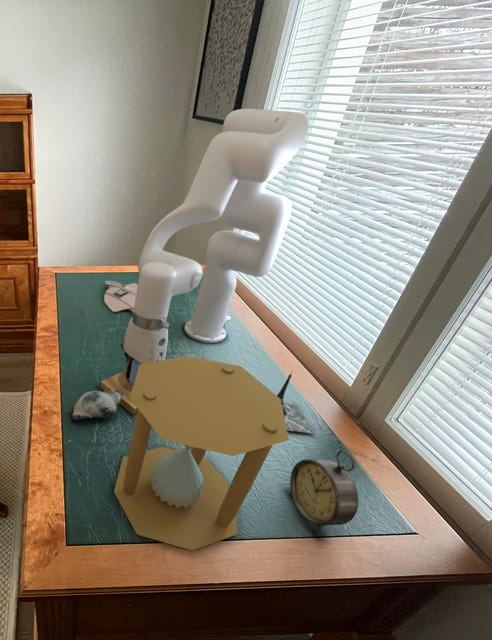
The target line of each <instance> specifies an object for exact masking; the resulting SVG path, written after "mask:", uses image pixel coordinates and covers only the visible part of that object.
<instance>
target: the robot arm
mask: <svg viewBox="0 0 492 640" xmlns="http://www.w3.org/2000/svg"><path fill="white" fill-rule="evenodd" d="M308 132H309V120H308V118H307V116H306V115H305V114H303V113H301V112H297V111H286V110H272V109H260V108H240V109H235V110H232V111H230V112H229V113H228V114H227V115H226V117H225V119H224V121H223V125H222V132H220V133H218V134H216V135H215V136H214V137H213V138H212V140H211V141H210V143H209V144H208V147H207V148H206V151H205V154H204V156H203V158H202V161H201V162H200V165H199V167H198V170H197V172H196V174H195V177H194V179H193V180H192V181H193V182H192V183H191V186H190V188H189V191H188V193H187V195H186V197H185V200H184V201H183V203H182V204H181V205H180V206H178V207H177V208H175V209H173V210H172V211H171V212H169V213H168V214H167V215H165V216H164V217H163V218H162V219H161V220H160V221H159V222H158V223H157V224H156V225H155V226H154V227H153V228H152V230H151V232H150V234H149V236H148V238H147V240H146V243H145V244H144V247H143V249H142V252H141V254H140V258H139V260H138V265H137V270H138V274H139V275H138V281H137V285H138V287H137V293H136V299H135V305H134V312H132V317H131V318H130V320H129V322H128V324H127V328H126V331H125V335H124V340H123V342H122V343H120V348H121V350H122V352H123V355H124V357H125V363H126V365H127V366H126V369H127V372H126V377H127V378H130V372H131V366H132V361H133V359H135V360H137V361H138V362H140V363H141V364H146V363H151V362H157V361H162V360H166V356H167V352H168V351H167V350H168V344H169V329H168V328H169V327H170V323H168V321H167V320H168V314H169V309H170V306H171V302H172V298H173V297H174V296H179V295H185V294H187V293H189V292H192V291H193V290H194V289H196V288H197V287H198V286H199V285H200V286H199V289H198V294H197V297H196V302H195V306H194V309H193V314H192V317H191V320H189V321H187V322H186V323H185V325H184V328H183V329H184V332H185V333H186V335H187V336H188V337H189V338H192V339H193V340H196V341H199V342H203V343H206V344H207V343H208V344H215V343H220V342H222V341H224V340H225V339H226V337H227V331H226V329H225V328H224V325H225V324H226V323H228V322H230V321H231V318H232V317H231V316H230V315H228V314H229V310H230V306H231V304H232V300H233V297H234V295H235V292H236V289H237V283H238V281H237V275H236V272H238V273H241V274H244V275H248V276H251V277H255V278H260V277H264V276H265V275H267V274H268V273H269V272H270V270H271V269H272V267H273V266H274V263H275V260H276V257H277V255H278V251H279V249H280V246H281V244H282V241H283V238H284V235H285V232H286V229H287V227H288V223H289V221H290V217H291V213H292V202H291V201H290V199H289V198H288V197H286V196H284V195H281V194H276V193H272V192H271V193H270V192H267V191H266V185H267V182H268V181H270V180H272V179H273V178H274V177H275V176H276V175H277V174H278V173H279V172H280V171H281V169H283V168H284V167H285V166H286V165H287V163H289V162H290V161H291V160H292V159H293V158H294V156H296V154H298V152H299V151H300V150H301V148H302V146H303V145H304V143H305V140H306V138H307V135H308ZM220 218H221V222H222V223H223V224H224V225H225V226H227V227H230V228H234V229H237V230H239V231H240V230H241V231H244V232H249V233H253V234H257V235H258V237H257V236H253V235H250V234H246V233H242V232H237V231H235V230H234V231H233V230H226V229H224V230H219V231H216V232H215V233H213V235H211V237H210V238H209V240H208V242H207V244H206V245H207V246H206V253H205V264H204V271H203V268H202V265H201V264H200V263H199V262H198V261H196V260H194V259H191V258H190V257H189V258H188V257H185V256H183V255H179V254H176V253H173V252H170V251H167V250H164V248H165V246H166V244H167V242H168V241H169V240H170V238H172V236H173V235H174V234H175V233H177V232H178V231H180V230H182V229H185V228H187V227H190V226H191V227H192V226H194V225H198V224H203V223H209V222H213V221H217V220H219V219H220Z"/></svg>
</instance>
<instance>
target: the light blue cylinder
mask: <svg viewBox="0 0 492 640" xmlns="http://www.w3.org/2000/svg"><path fill="white" fill-rule="evenodd" d="M139 365H141V363H140V362H138V361H137V360H135V359H133V361H132V366H131V372H130V378H129V381H128V383H129V384H130V385H131V386H134V382H135V379H136V375H137V372H138V368H139Z"/></svg>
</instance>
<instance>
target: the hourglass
mask: <svg viewBox="0 0 492 640" xmlns="http://www.w3.org/2000/svg"><path fill="white" fill-rule="evenodd" d="M130 398H131V399H132V401H133V402H134V403H135V405H136V406H137V407H138V413H136V418H135V422H134V427H133V432H132V436H131V440H130V445H129V450H128V455H126V456H123V457H122V460H121V462H120V463H121V464H120V466H119V467H120V468H119V470H118V475H117V479H116V483H115V486H114V491H113V493H114V495H115V496H116V498H117V500H118V502H119V505H120V507H122V510H123V511H124V514H125V515H126V518H127V519H128V521H129V523H130V524H131V526H132V528H133V530H134V532H135V533H136V535H138V536H141V537H145V538H148V539H151V540H154V541H158V542H161V543H165V544H169V545H172V546H176V547H179V548H182V549H186V550H189V551H194V550H197V549H200V548H203V547H205V546H208V545H212V544H214V543H217V542H220V541H223V540H225V539H228V538H231V537H234V536H236V535H238V517H237V514H238V512H239V511H240V508H241V507H242V505H243V504H244V501H245V499H246V498H247V496H248V494H249V493H250V490H251V488H252V487H253V485H254V483H255V481H256V479H257V477H258V475H259V473H260V472H261V469H262V467H263V466H264V463H265V461H266V460H267V457H268V455H269V453H270V451H271V449H272V447H273V446H275V445H277V444H281V443H285V442H287V441H289V440H290V439H289V434H288V431H287V428H286V423H285V418H284V413H283V408H282V403H281V399H280V398H279V397H277V394H276V393H274V391H272V390H270V389H269V388H268V387H267V386H266V385H264V384H263V383H262V382H261V381H260V380H258V379H257V378H255V376H254V375H252V374H251V373H250V372H249V371H247V370H246V369H245V368H244V367H243V366H241V365H237V364H233V363H232V364H231V363H226V362H221V361H217V360H210V359H205V358H201V357H200V358H198V357H194V356H190V355H189V356H188V355H183V356H178V357H173V358H167V359H165V360H162V361H157V362H151V363H146V364H141V365H139V368H138V372H137V375H136V379H135V382H134V386H133V389H132V393H131V396H130ZM152 429H153V430H154V431H155V433H156V435H157V436H158V437H159V438H160V440H163V441H167V442H171V443H175V444H180V445H183V446H184V448H183V449H180V450H177V449H173V448H169V447H166V446H159V447H155V448H152V449H148V444H149V440H150V436H151V432H152ZM147 449H148V450H147ZM207 451H209V452H214V453H218V454H222V455H226V456H231V457H235V456H239V455H242V454H244V456H243V458H242V460H241V462H240V464H239V466H238V468H237V470H236V472H235V474H234V476H233V478H232V480H231V482H230V484H229V482H228V481H227V480H226V479H225V477H224V476H223V475H222V474H221V473H220V471H219V470H218V469H217V468H216V467H215V466H214V464H213V463H212V462H211V461H210V460H209V458H208V457H206V456H205V455H206V452H207Z"/></svg>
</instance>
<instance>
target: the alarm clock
mask: <svg viewBox="0 0 492 640" xmlns="http://www.w3.org/2000/svg"><path fill="white" fill-rule="evenodd" d="M341 453H345V454H346V455H347V456H348V457H349V459H350V461H351V467H350V468H349V469H346V468H345V465H344V464H343V463H341V462H340V460H339V456H340V454H341ZM354 468H355V460H354V458H353V455H351V453H350V452H348V451H347V450H345V449H342V450H339V451H337V452H336V461H333V460H331V459H326V458H314V459H313V458H312V459H311V458H310V459H309V458H305V459H301V460H300V461H298V462H297V463H296V464H295V465H294V466H293V468H292V470H291V473H290V479H289V484H290V485H289V486H290V490H289V494H291V497H292V500H293V503H294V504H295V507H296V508H297V510H298V511H299V513H300V514H301V515H302V516H303V517H304V518H305V519H306V520H307V521H308V522H309V523H311V524H313V525H314V526H315V525H316V530H317V532H316V535H317V536H318V537H320V536H322V528H323V527H324V526H342V525H346V524H348V523H349V522H351V521H352V520H353V519H354V518H355V517H356V515H357V512H358V510H359V509H358V508H359V493H358V489H357V486H356V483H355V482H354V479H353V478H352V476H351V475H350V473H349V472H351V471H353V470H354Z"/></svg>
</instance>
